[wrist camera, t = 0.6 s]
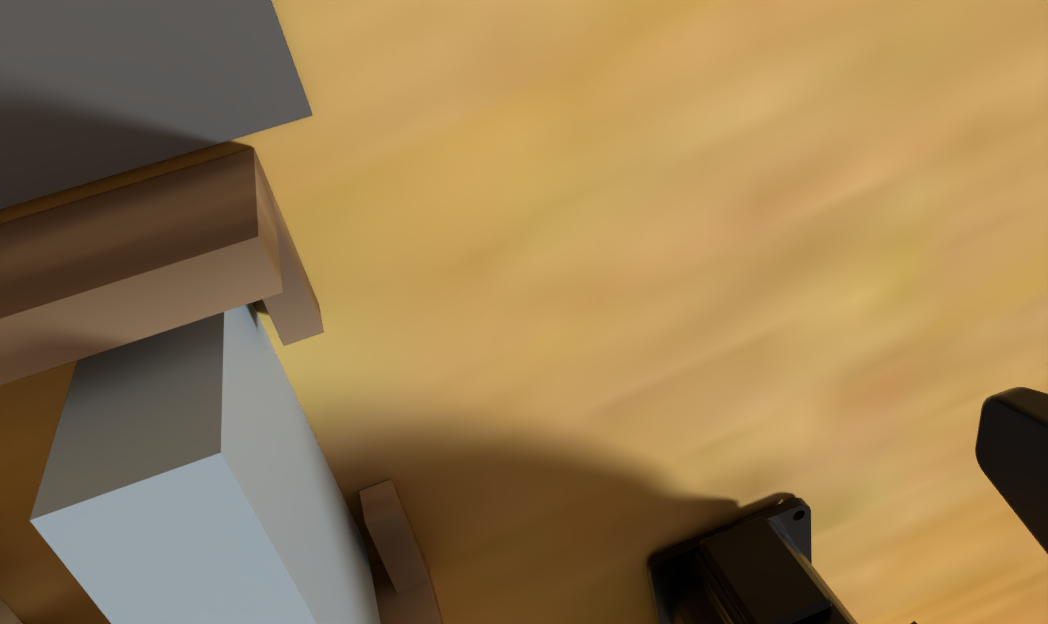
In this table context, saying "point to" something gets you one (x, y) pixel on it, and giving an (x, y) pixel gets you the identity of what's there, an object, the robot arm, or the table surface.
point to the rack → (180, 303)
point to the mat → (133, 85)
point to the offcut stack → (7, 615)
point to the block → (200, 487)
